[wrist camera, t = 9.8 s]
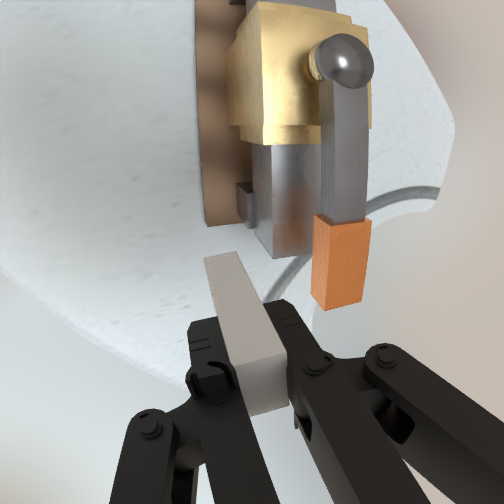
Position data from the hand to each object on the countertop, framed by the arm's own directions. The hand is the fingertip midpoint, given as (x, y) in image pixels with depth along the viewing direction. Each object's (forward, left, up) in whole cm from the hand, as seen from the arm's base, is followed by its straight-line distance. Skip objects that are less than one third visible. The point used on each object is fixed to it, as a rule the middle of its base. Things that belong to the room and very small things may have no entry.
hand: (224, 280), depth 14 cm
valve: (-10, +7, -15) cm, 20 cm away
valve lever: (-4, +7, -2) cm, 8 cm away
